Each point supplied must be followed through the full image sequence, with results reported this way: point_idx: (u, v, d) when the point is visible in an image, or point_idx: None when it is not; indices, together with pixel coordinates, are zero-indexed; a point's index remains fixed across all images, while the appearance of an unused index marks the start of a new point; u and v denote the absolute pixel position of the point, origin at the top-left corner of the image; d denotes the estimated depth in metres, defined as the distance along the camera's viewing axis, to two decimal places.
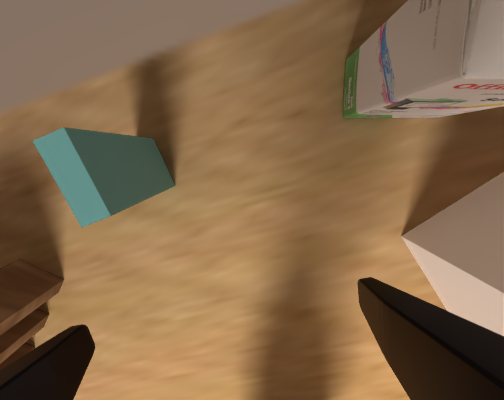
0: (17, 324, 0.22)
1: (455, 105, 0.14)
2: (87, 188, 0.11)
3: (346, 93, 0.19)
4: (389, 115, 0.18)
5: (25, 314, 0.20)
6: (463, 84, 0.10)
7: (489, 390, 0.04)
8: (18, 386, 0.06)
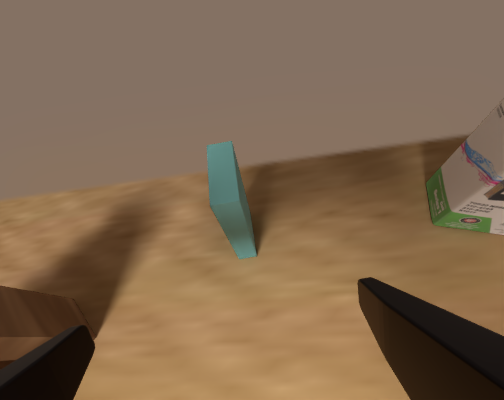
0: None
1: None
2: (229, 178, 0.13)
3: (433, 203, 0.21)
4: (488, 220, 0.18)
5: None
6: None
7: (489, 390, 0.04)
8: (19, 386, 0.06)
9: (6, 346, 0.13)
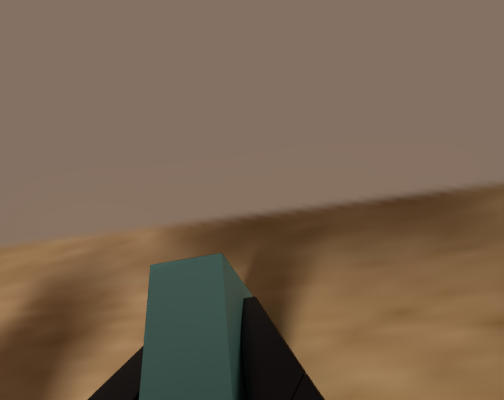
0: None
1: None
2: None
3: None
4: None
5: None
6: None
7: None
8: None
9: None
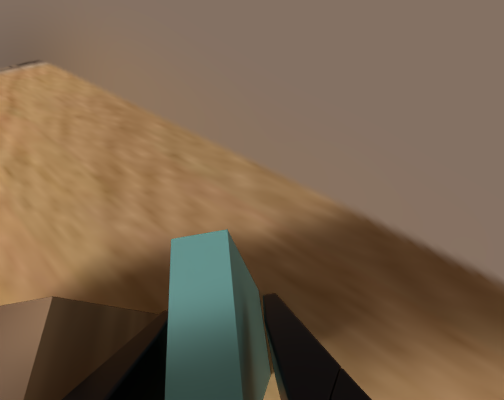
0: None
1: None
2: (220, 349, 0.05)
3: None
4: None
5: None
6: None
7: None
8: (143, 366, 0.05)
9: None
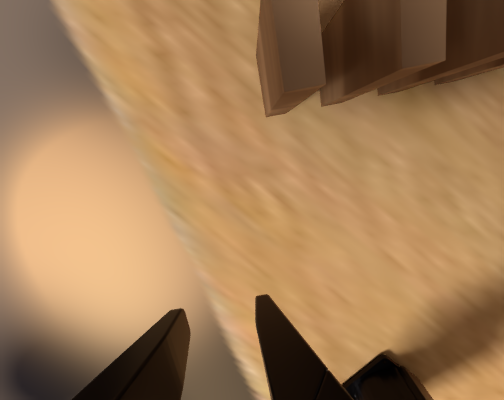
0: None
1: None
2: None
3: None
4: None
5: (485, 70, 0.15)
6: None
7: None
8: (153, 364, 0.05)
9: None
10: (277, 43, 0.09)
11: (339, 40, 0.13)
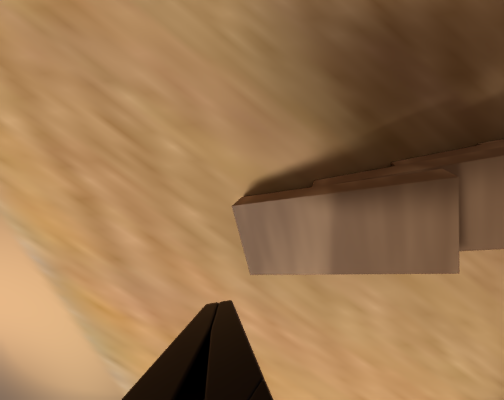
0: None
1: None
2: None
3: None
4: None
5: None
6: None
7: None
8: (202, 357, 0.05)
9: None
10: (457, 239, 0.10)
11: None
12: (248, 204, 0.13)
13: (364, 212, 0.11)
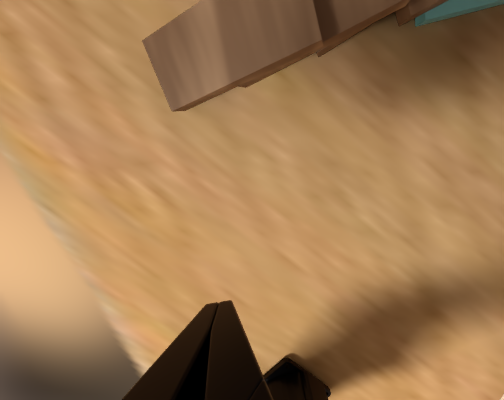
0: None
1: None
2: None
3: None
4: None
5: None
6: None
7: None
8: (202, 357, 0.05)
9: None
10: (312, 2, 0.11)
11: None
12: (153, 33, 0.14)
13: (239, 3, 0.12)
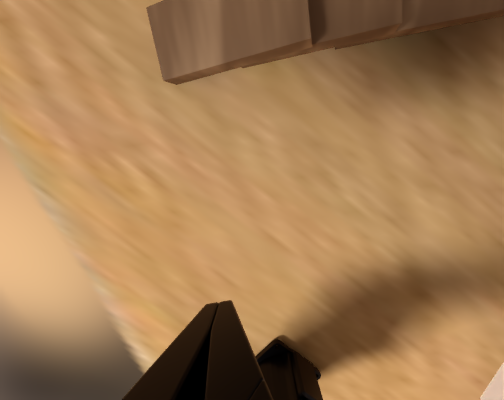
0: None
1: None
2: None
3: None
4: None
5: None
6: None
7: None
8: (202, 356, 0.05)
9: None
10: (307, 4, 0.13)
11: None
12: (159, 3, 0.15)
13: None
